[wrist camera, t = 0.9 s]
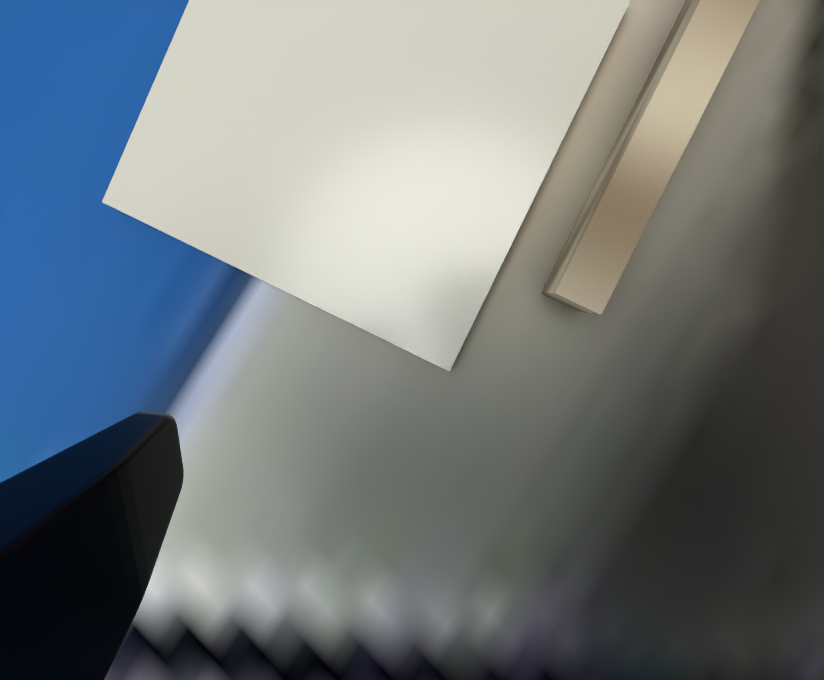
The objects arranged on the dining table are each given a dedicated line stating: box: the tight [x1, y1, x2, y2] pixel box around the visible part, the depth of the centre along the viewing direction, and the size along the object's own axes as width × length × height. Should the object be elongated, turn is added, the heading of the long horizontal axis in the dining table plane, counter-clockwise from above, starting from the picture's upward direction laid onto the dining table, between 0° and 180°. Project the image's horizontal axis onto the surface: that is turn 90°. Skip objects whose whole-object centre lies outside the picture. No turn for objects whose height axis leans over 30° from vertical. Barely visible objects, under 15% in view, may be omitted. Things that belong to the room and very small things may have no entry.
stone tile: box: [102, 0, 630, 372], centre depth 22 cm, size 11×11×1 cm
